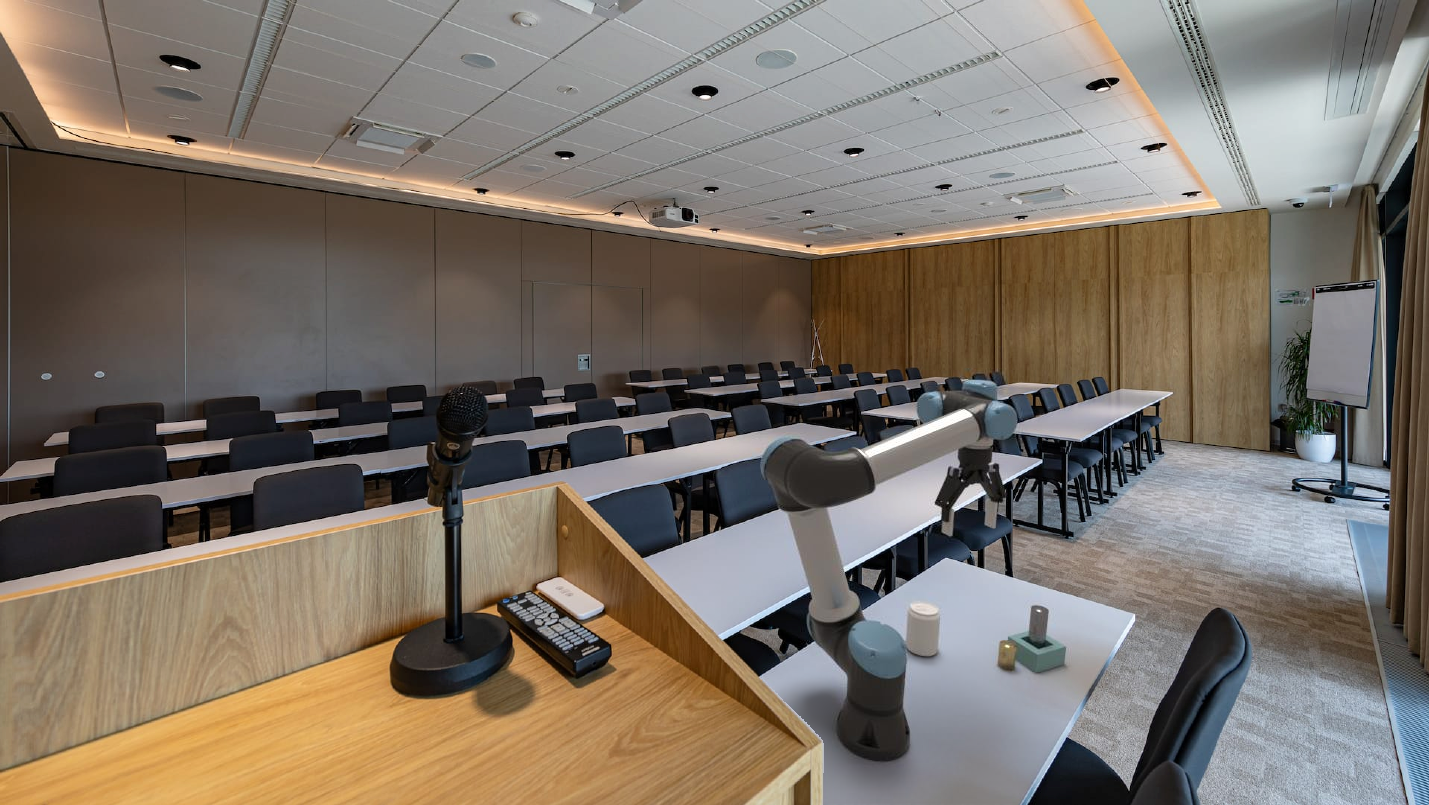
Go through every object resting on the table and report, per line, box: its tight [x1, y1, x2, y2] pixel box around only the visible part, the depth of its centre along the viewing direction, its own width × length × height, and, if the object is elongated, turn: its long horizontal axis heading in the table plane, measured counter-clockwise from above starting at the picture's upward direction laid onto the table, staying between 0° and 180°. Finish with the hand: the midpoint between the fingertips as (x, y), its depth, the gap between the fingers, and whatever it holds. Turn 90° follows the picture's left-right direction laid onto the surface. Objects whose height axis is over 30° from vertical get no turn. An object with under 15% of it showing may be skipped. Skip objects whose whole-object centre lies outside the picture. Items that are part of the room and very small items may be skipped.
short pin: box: [997, 639, 1017, 672], centre depth 154 cm, size 4×4×6 cm
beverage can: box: [905, 600, 941, 657], centre depth 161 cm, size 8×8×12 cm
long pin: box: [1028, 604, 1050, 649], centre depth 157 cm, size 4×4×14 cm
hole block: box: [1007, 630, 1067, 674], centre depth 157 cm, size 10×9×5 cm
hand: (968, 530), depth 148 cm, fingers open, 13 cm apart
